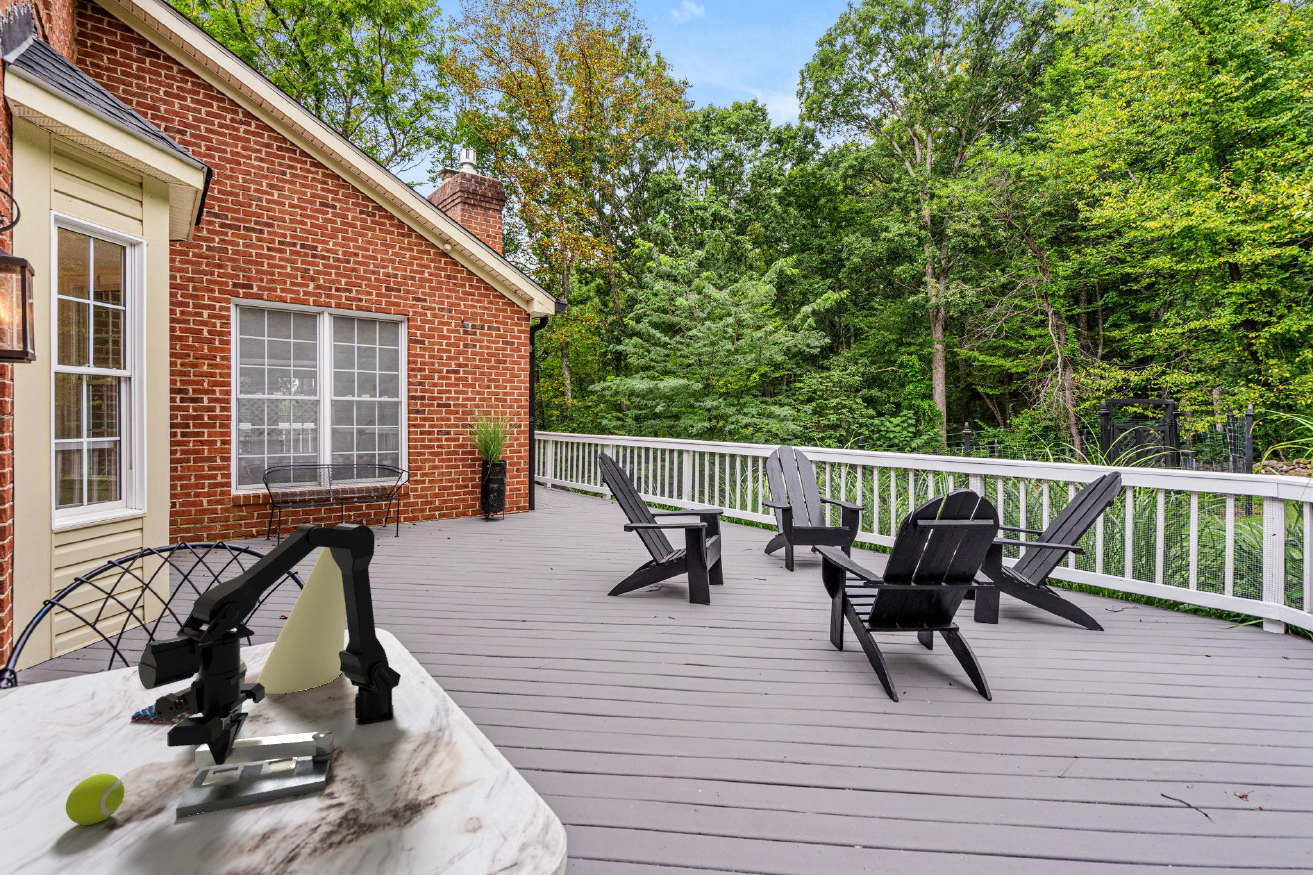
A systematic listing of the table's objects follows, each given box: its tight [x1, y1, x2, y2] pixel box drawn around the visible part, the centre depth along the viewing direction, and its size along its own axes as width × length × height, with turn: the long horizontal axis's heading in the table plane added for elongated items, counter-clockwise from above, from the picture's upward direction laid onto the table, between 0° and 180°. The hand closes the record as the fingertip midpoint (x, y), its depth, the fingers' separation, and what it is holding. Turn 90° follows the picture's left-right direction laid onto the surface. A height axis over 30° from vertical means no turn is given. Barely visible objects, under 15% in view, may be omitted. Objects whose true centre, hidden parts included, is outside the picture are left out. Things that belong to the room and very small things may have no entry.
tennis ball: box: [65, 773, 125, 826], centre depth 98 cm, size 7×7×7 cm
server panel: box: [175, 749, 334, 819], centre depth 110 cm, size 21×16×2 cm
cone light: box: [255, 547, 346, 695], centre depth 152 cm, size 25×18×35 cm
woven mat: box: [130, 703, 190, 724], centre depth 136 cm, size 10×11×2 cm
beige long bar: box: [194, 730, 334, 768], centre depth 111 cm, size 21×3×3 cm, turn 101°
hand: (220, 764), depth 107 cm, fingers closed
